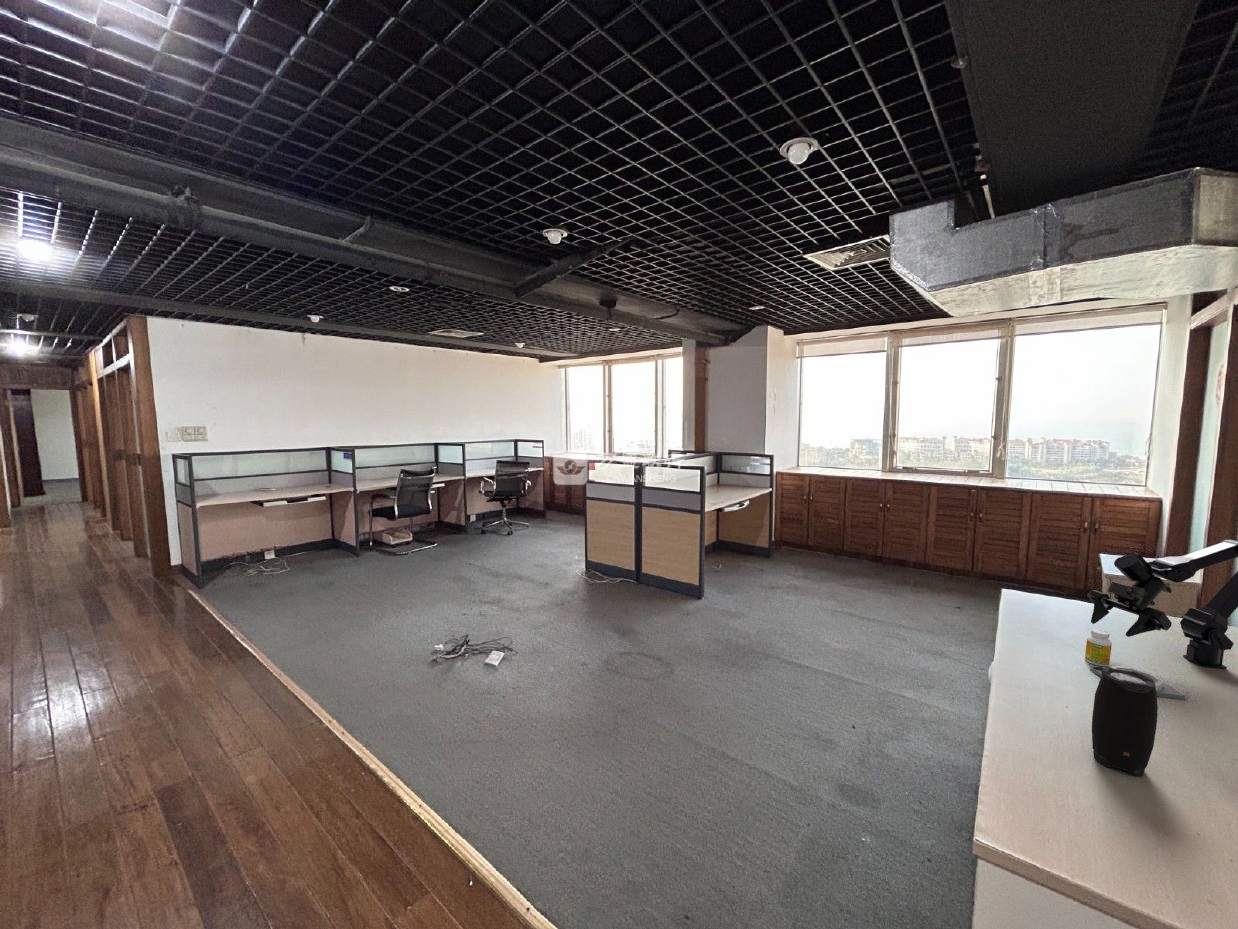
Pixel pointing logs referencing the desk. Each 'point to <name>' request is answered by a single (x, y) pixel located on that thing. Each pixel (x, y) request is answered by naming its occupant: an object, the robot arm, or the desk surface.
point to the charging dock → (1161, 687)
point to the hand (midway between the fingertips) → (1108, 629)
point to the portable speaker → (1124, 720)
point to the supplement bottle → (1098, 648)
